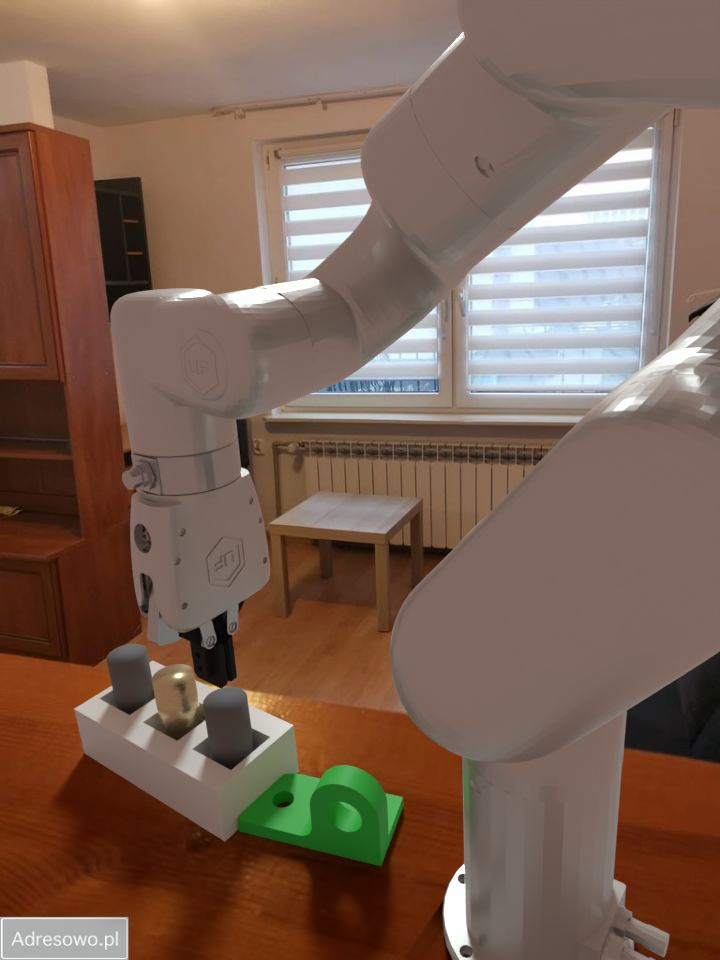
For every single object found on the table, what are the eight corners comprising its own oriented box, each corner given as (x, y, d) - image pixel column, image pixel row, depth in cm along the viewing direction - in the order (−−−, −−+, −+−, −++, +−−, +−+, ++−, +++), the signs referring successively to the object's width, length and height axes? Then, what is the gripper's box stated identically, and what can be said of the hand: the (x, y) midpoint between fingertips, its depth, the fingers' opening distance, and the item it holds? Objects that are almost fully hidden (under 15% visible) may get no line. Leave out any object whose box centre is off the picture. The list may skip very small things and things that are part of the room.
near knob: (264, 754, 61) (256, 695, 59) (233, 780, 58) (224, 719, 56) (234, 739, 63) (225, 682, 61) (203, 764, 60) (193, 704, 58)
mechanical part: (403, 816, 59) (401, 737, 56) (381, 876, 54) (377, 793, 51) (272, 785, 63) (264, 710, 60) (240, 838, 58) (229, 759, 55)
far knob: (164, 704, 68) (154, 650, 66) (133, 725, 66) (122, 670, 64) (141, 692, 70) (130, 639, 68) (110, 712, 68) (98, 658, 66)
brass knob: (211, 728, 65) (202, 671, 63) (180, 751, 62) (170, 693, 60) (185, 714, 67) (175, 659, 65) (154, 736, 64) (143, 680, 62)
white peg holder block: (299, 780, 64) (293, 725, 62) (226, 850, 57) (216, 791, 55) (161, 709, 75) (152, 660, 73) (86, 761, 68) (74, 708, 66)
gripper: (136, 510, 44) (175, 749, 50) (294, 445, 55) (310, 648, 62) (66, 488, 48) (110, 711, 55) (226, 432, 60) (248, 623, 66)
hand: (216, 677), depth 58 cm, fingers closed
